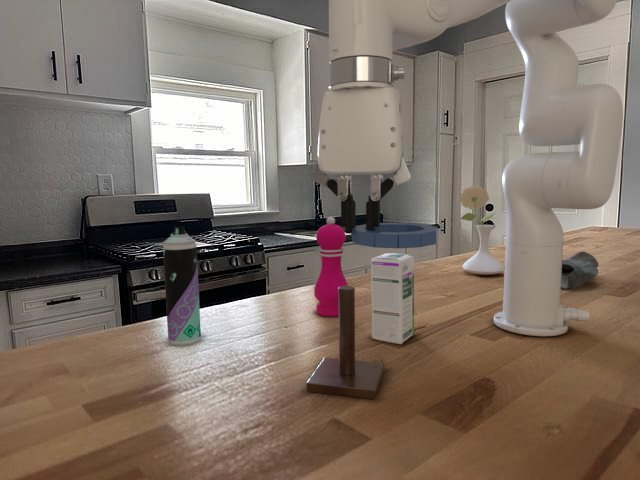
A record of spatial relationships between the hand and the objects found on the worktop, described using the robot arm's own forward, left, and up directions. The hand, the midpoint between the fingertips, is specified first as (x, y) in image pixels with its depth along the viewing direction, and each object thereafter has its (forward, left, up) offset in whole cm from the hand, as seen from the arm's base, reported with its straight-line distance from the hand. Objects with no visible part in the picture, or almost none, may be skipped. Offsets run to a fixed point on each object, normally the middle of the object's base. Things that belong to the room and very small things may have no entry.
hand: (360, 231), depth 58 cm
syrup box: (-2, -22, -21) cm, 31 cm away
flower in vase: (-20, -81, -21) cm, 86 cm away
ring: (-4, 0, -1) cm, 4 cm away
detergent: (-43, -76, -21) cm, 90 cm away
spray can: (+33, -12, -21) cm, 41 cm away
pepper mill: (+12, -34, -21) cm, 42 cm away
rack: (+2, -3, -21) cm, 22 cm away
